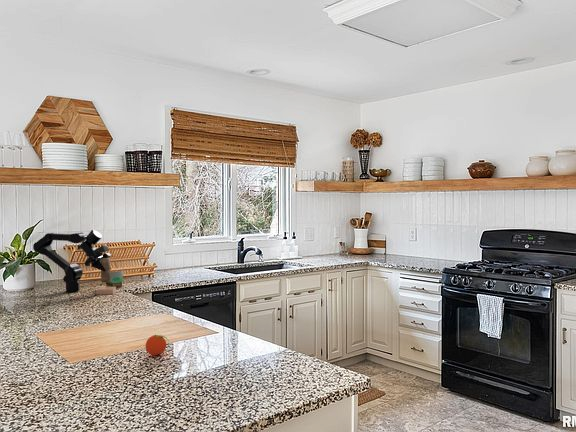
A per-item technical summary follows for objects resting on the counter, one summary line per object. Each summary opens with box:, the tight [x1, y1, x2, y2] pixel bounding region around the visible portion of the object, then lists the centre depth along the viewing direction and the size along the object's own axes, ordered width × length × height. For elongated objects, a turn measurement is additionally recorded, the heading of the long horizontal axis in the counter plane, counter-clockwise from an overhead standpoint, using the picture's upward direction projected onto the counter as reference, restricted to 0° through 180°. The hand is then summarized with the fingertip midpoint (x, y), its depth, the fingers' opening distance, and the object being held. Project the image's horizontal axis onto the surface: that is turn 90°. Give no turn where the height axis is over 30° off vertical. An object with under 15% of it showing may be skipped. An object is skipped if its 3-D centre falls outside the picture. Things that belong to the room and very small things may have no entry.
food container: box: [105, 269, 125, 289], centre depth 298 cm, size 12×6×10 cm, turn 143°
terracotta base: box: [95, 286, 117, 295], centre depth 283 cm, size 9×9×2 cm
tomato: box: [145, 334, 169, 356], centre depth 172 cm, size 8×7×7 cm
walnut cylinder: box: [100, 257, 111, 284], centre depth 283 cm, size 5×5×13 cm
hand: (107, 270), depth 282 cm, fingers closed on walnut cylinder, 5 cm apart
